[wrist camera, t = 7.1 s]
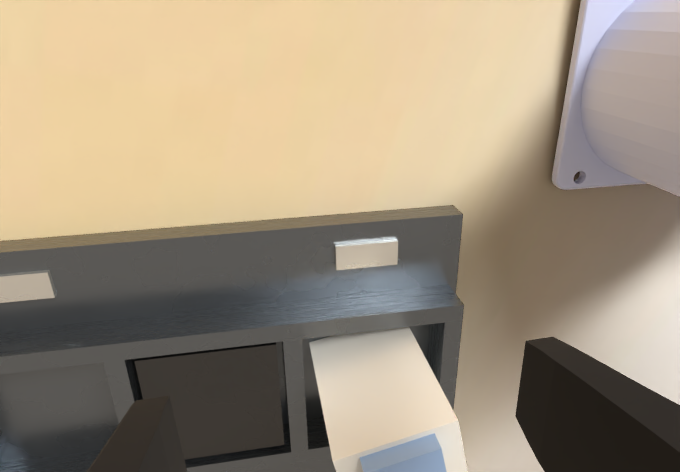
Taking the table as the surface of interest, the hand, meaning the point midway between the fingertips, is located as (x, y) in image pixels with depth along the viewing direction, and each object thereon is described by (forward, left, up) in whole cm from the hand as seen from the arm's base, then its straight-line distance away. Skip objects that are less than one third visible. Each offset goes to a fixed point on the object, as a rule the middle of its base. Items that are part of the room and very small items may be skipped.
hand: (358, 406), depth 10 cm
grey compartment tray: (+4, +6, -10) cm, 13 cm away
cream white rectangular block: (-2, +7, -9) cm, 12 cm away
